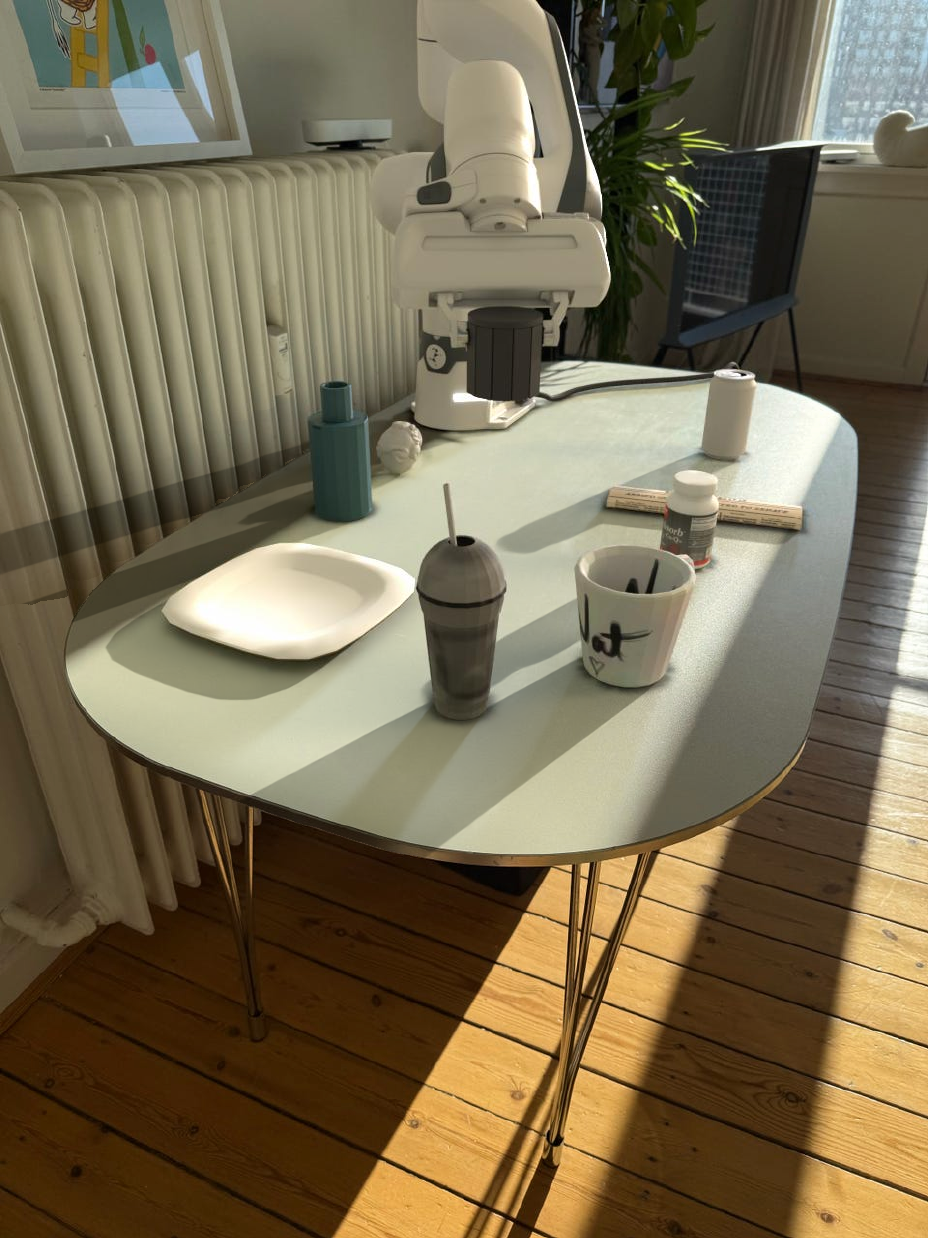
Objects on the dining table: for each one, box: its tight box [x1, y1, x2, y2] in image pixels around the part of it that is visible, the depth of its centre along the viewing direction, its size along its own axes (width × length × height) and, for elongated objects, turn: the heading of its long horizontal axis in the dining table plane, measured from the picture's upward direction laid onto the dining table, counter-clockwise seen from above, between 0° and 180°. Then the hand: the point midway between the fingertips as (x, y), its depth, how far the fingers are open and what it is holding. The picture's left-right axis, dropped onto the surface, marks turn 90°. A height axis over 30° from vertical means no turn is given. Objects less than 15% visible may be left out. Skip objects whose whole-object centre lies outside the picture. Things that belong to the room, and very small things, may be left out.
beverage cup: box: [415, 482, 508, 721], centre depth 72 cm, size 7×7×20 cm
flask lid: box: [467, 306, 544, 401], centre depth 83 cm, size 7×7×7 cm
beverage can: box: [700, 368, 757, 461], centre depth 130 cm, size 6×6×12 cm
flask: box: [307, 380, 373, 523], centre depth 110 cm, size 7×7×16 cm
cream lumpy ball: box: [375, 420, 423, 475], centre depth 125 cm, size 6×7×7 cm
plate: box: [161, 542, 416, 662], centre depth 92 cm, size 22×22×2 cm
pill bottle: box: [659, 469, 719, 570], centre depth 100 cm, size 6×6×10 cm
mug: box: [573, 544, 697, 688], centre depth 82 cm, size 10×15×10 cm
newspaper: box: [605, 484, 803, 531], centre depth 114 cm, size 24×7×2 cm, turn 73°
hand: (504, 343), depth 82 cm, fingers closed on flask lid, 7 cm apart
